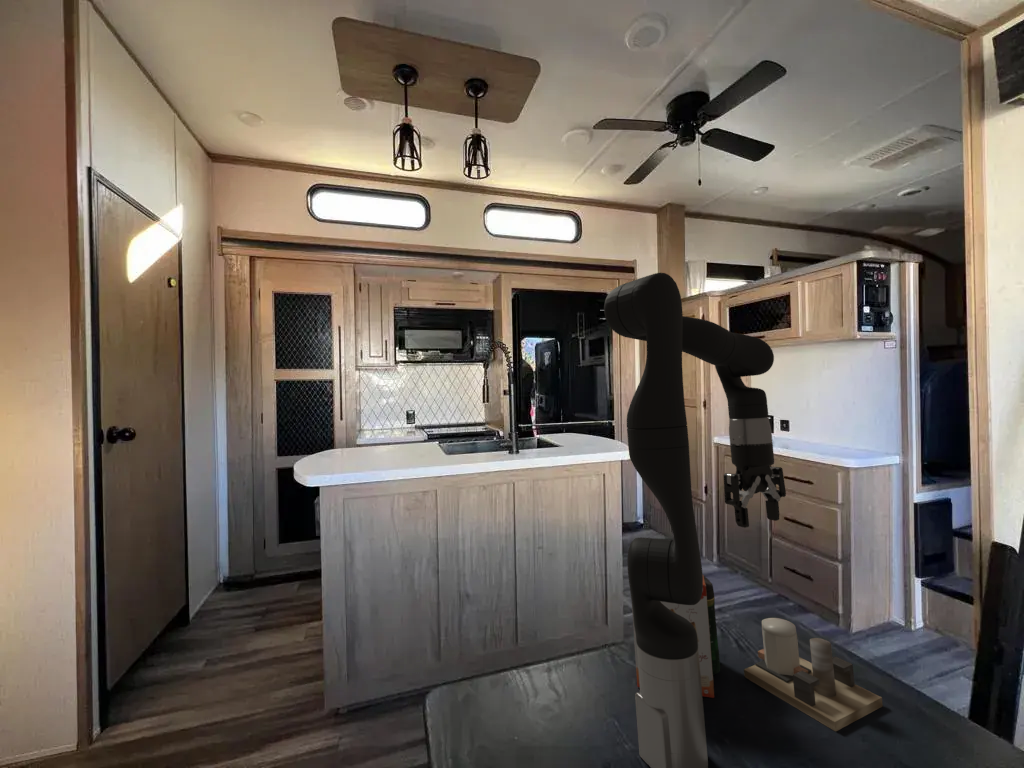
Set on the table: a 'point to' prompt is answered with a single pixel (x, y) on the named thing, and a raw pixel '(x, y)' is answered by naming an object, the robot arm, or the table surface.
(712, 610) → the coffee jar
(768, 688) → the bulb mounting plate
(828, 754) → the table surface
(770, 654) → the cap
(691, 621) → the cracker box
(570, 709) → the table surface
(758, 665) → the mat
